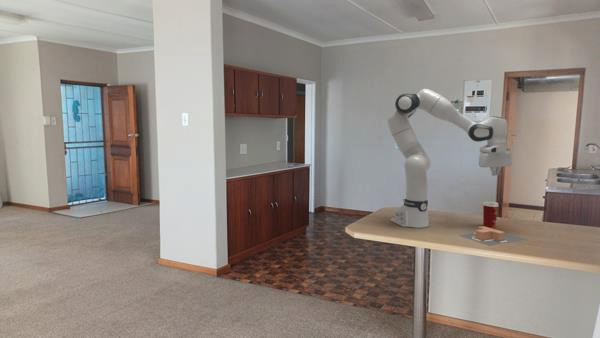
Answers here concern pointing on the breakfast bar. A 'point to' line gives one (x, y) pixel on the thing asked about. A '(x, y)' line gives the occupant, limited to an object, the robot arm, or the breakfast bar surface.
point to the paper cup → (490, 214)
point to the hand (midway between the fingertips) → (494, 175)
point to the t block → (489, 234)
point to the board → (492, 242)
